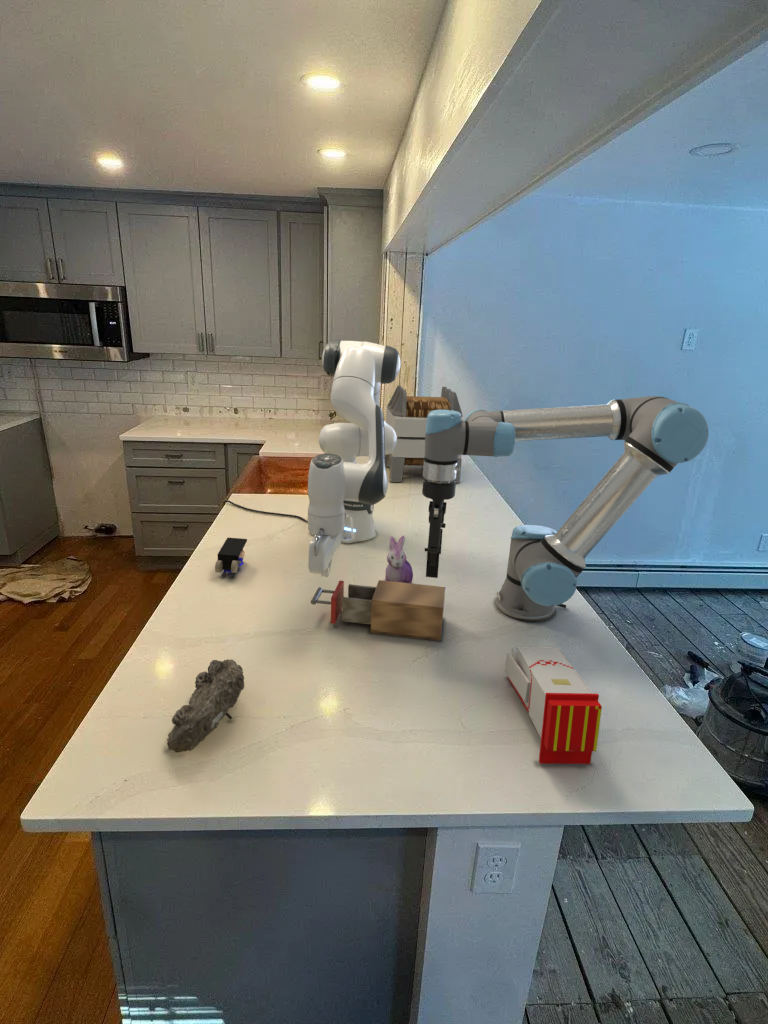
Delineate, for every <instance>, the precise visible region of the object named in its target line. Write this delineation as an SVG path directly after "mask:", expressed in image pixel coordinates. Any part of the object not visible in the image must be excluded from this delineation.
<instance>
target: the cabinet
mask: <svg viewBox="0 0 768 1024" xmlns="http://www.w3.org/2000/svg"><path fill="white" fill-rule="evenodd" d="M375 587H376V590H375V592H374V595H373V598H372V608H371V624H370V634H378V635H384V636H385V635H386V636H394V637H401V638H402V637H403V638H412V639H420V640H428V641H429V640H430V641H436V642H437V641H438V642H441V641H442V632H443V631H442V630H443V621H444V620H443V619H444V608H445V598H446V586H439V585H429V584H419V583H412V584H411V583H402V582H392V581H385V580H383V579H378V581H377V583H376V586H375Z"/></svg>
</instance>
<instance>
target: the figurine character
mask: <svg viewBox="0 0 768 1024" xmlns="http://www.w3.org/2000/svg"><path fill="white" fill-rule="evenodd" d="M247 542H248V538H240V537H226V539H225V541H224V543H223V544H222V546H221V547H220V549H219V551H218V552H217V560H216V562H215V564H214V572H215V573H221V577H222V578H224V577H225V576H226V574H227V573H230V574H231V573H232V574H231V578H234V577H235V575H236V573H237V572H239V571H240V567H242V566H243V565H244V564H245V562H244V558H245V551H244V547H245V546H246V544H247Z"/></svg>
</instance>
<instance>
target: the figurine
mask: <svg viewBox="0 0 768 1024" xmlns="http://www.w3.org/2000/svg"><path fill="white" fill-rule="evenodd" d="M388 539H389V541H388V543H389V551H388V552H387V555H386V562H387V563H388V564H387V566H386V568H385V573H384V575H385V578H384V581H392V582H402V583H411V584H413V579H414V571H413V568H412V564H411V563H410V562H409V561H408V560H407V554H406V552H405V550H404V546H405V542H406V536H405V535H402V536H400V538H399V539H398V541H397V542H396V540H395V538H394V536H392V535H391V536H389V538H388Z"/></svg>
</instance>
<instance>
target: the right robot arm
mask: <svg viewBox="0 0 768 1024" xmlns="http://www.w3.org/2000/svg"><path fill="white" fill-rule="evenodd" d="M461 418H462V417H461V414H460V413H459V412H457V411H453V410H433V411H431V412H430V413H429V414H428V416H427V423H426V430H425V454H424V465H423V466H422V467H423V469H422V477H423V478H424V479H422V488H421V489H422V490H421V494H422V496H424V497H425V498H426V499H431V500H429V504H428V523H429V529H428V540H427V547H424V550H423V551H424V552H425V553H426V565H425V567H426V568H425V577H426V578H434V579H438V578H439V565H440V555H442V543H443V531H444V530H443V529H446V525H447V524H446V523H444V522H445V515H446V512H447V500H451V499H453V498H454V497H455V496H456V487H457V483H456V482H455V479H456V470H460V467H459V466H457V462H458V455H461V456H477V457H493V458H499V457H501V458H502V457H510V456H511V455H512V454H513V452H514V450H515V445H516V442H526V441H527V442H528V441H545V440H564V439H579V438H580V439H581V438H582V439H584V438H600V437H601V438H602V437H604V438H605V437H607V438H608V439H609V440H610V441H623V453H622V454H621V455H620V457H619V458H618V459H617V460H616V461H615V463H614V464H613V465H612V466H611V467H610V468H609V470H608V471H607V472H606V473H605V475H603V476H602V478H601V479H600V480H599V481H598V483H597V484H596V485H595V486H594V487H593V488H592V490H591V491H590V492H589V493H588V494H587V496H586V497H585V498H584V499H583V501H582V502H581V503H580V504H579V505H578V506H577V508H576V509H575V510H574V512H573V513H572V514H571V515H570V516H569V517H568V518H567V519H566V521H565V522H564V523H563V524H562V525H561V527H560V528H559V529H558V530H555V529H553V528H551V527H548V526H544V525H535V524H522V525H517V526H515V527H514V528H513V529H512V531H511V532H512V533H511V536H510V545H509V552H508V553H509V554H508V562H507V568H506V576H505V580H504V582H503V584H502V585H501V587H500V590H499V591H498V590H496V595H495V596H496V601H495V604H496V607H497V609H498V610H499V611H500V612H502V613H503V614H505V615H506V616H508V617H510V618H513V619H516V620H520V621H526V622H540V621H541V622H542V621H546V620H548V619H550V618H551V617H552V616H553V615H554V613H555V607H559V608H563V609H566V608H567V605H566V604H564V603H566V602H568V601H569V600H570V599H571V598H572V597H573V596H574V595H575V592H576V590H577V584H578V582H577V578H579V576H580V575H581V573H583V571H585V569H586V567H587V565H586V563H587V562H586V557H588V555H589V553H591V551H592V550H593V549H594V548H595V547H596V546H597V545H598V544H599V542H601V540H602V539H603V538H604V537H605V536H606V535H607V533H608V532H609V531H610V530H612V528H613V527H614V525H615V524H616V523H617V522H618V521H619V520H620V519H621V518H622V516H623V515H624V514H625V513H626V512H627V511H628V510H629V508H630V507H631V506H632V505H633V504H634V503H635V502H636V500H637V499H638V498H639V497H640V496H641V495H642V494H643V493H644V491H646V489H647V488H648V487H649V485H651V483H652V482H653V481H654V480H655V479H656V477H657V478H658V476H663V475H669V474H670V473H671V472H672V471H673V469H674V468H676V466H677V465H678V464H682V463H686V462H691V461H692V460H694V459H695V458H697V457H698V456H699V455H700V454H701V453H702V452H703V451H704V449H705V447H706V445H707V443H708V440H709V435H710V434H709V433H710V432H709V424H708V421H707V419H706V417H705V416H704V414H703V413H701V411H699V410H698V409H696V408H694V406H691V405H689V404H688V403H684V402H679V401H676V400H673V399H670V398H668V397H665V396H661V395H660V396H659V395H648V396H640V397H639V396H638V397H629V398H620V399H619V398H618V399H611V400H610V401H608V402H607V403H606V404H593V405H574V406H558V407H543V408H542V407H540V408H525V409H509V410H507V409H506V410H491V411H490V410H489V411H488V410H485V409H481V408H480V409H479V408H477V409H474V410H472V411H470V412H468V414H467V415H466V416H465V418H464V420H465V421H462V419H463V418H462V419H461Z"/></svg>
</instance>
